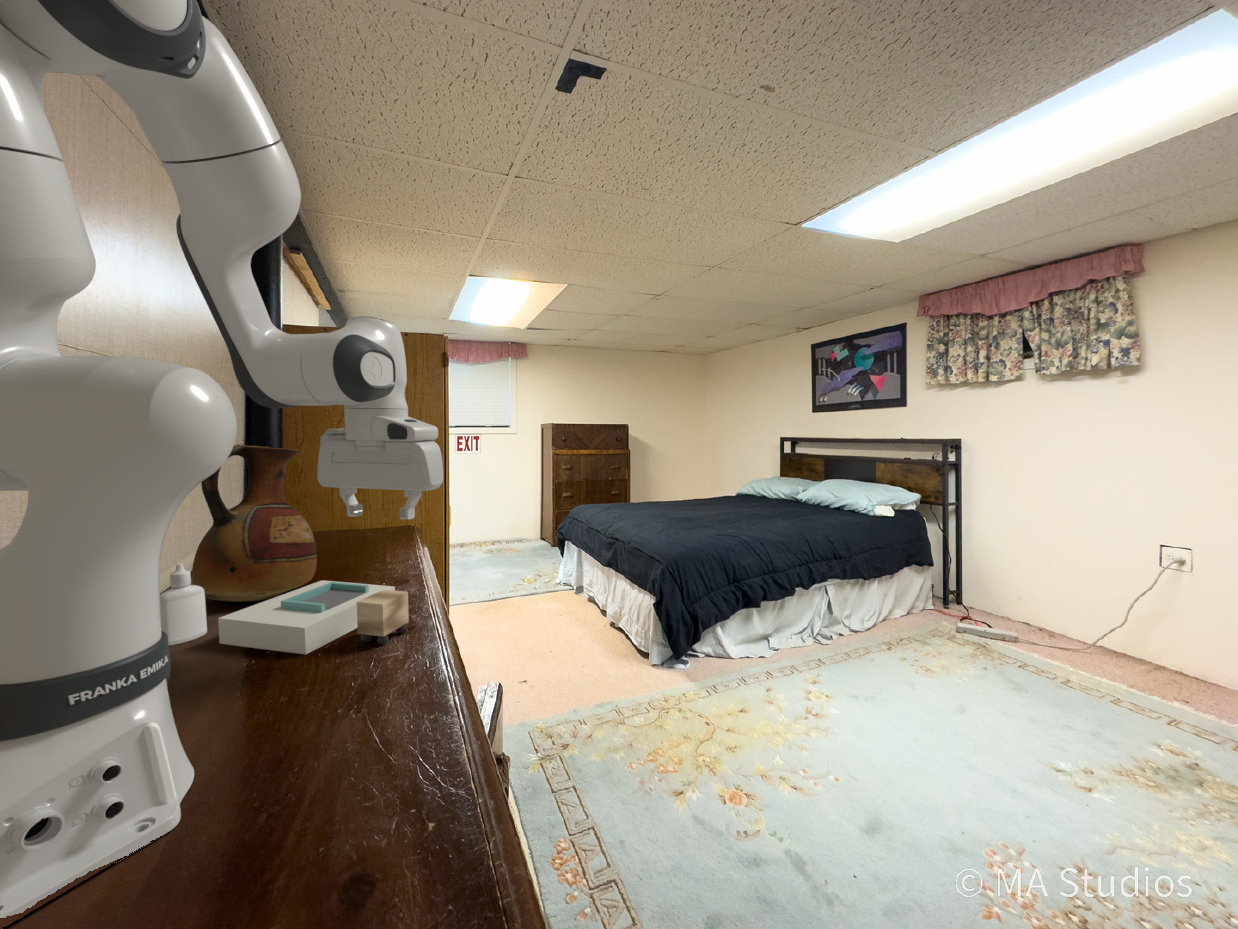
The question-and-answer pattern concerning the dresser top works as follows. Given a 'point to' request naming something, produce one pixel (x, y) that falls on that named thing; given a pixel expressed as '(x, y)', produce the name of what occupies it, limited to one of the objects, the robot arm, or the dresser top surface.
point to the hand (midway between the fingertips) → (381, 517)
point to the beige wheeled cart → (382, 615)
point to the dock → (298, 618)
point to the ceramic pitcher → (254, 535)
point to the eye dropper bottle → (183, 608)
